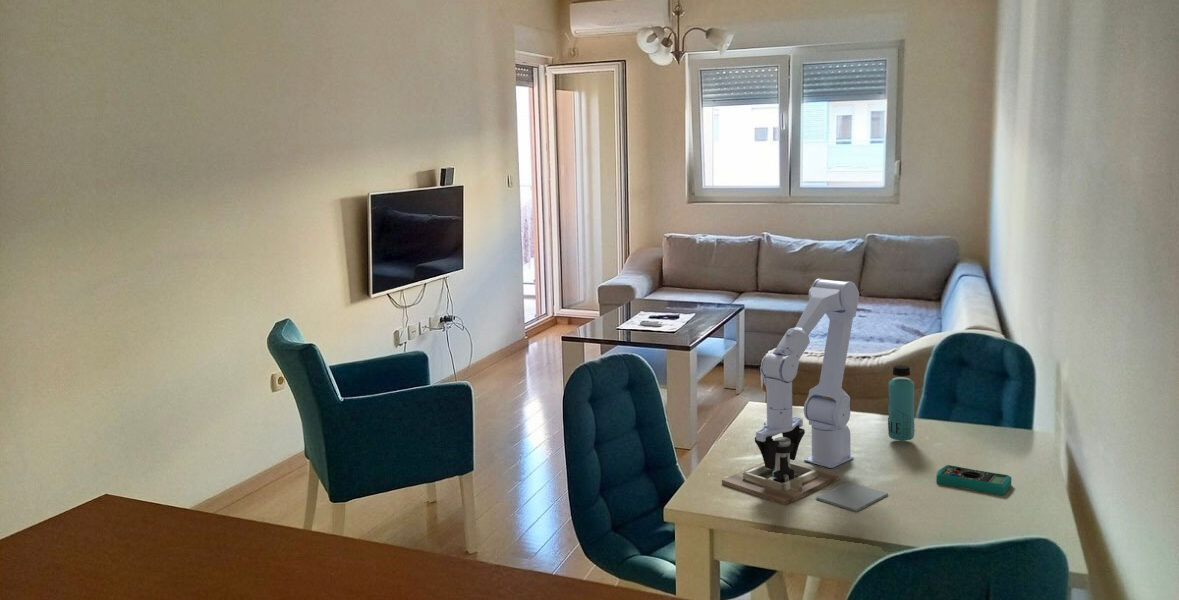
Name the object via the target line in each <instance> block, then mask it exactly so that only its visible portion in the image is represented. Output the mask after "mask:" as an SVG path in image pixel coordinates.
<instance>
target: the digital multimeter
mask: <svg viewBox="0 0 1179 600" xmlns="http://www.w3.org/2000/svg"><path fill="white" fill-rule="evenodd" d="M935 477H936V478H935V479H936V482H935V483H936V484H938V485H944V486H948V487H949V486H951V487H956V488H962V489H965V490H966V489H967V490H972V491H977V492H982V493H987V494H992V495H996V496H997V495H998V496H1003V495H1005V494H1006V493H1007V492H1008V491H1009V490H1010V488H1011V487H1012V476H1010V474H1003V473H999V472H998V473H997V472H990V471H983V470H978V469H972V468H966V467H961V466H956V465H950V464H947V465H945V466H943V467H941V468H939V469H938V470H937V472H936V476H935Z"/></svg>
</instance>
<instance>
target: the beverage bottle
mask: <svg viewBox="0 0 1179 600" xmlns="http://www.w3.org/2000/svg"><path fill="white" fill-rule="evenodd" d="M910 369H911V368H910V366H909V365H907V364H896V365H893V367H892V375H893V376H896V377H893V378H892V379H891V380H889V381H888V395H887V398H888V399H887V400H888V402H887V403H888V404H887V406H888V415H887V416H888V417H887V429H888V437H889V438H890V439H892V440H894V441H904V442H905V441H911V440H913V439H914V438H915V435H916V433H915V431H916V429H915V428H916V426H915V425H916V422H915V421H916V420H915V418H916V415H915V381H913V380H912V379H910V377H909V376H910V375H911V370H910ZM908 377H909V378H908Z"/></svg>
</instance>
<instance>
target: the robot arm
mask: <svg viewBox="0 0 1179 600" xmlns="http://www.w3.org/2000/svg"><path fill="white" fill-rule="evenodd" d="M859 298H860V292H859V290H858V287H857V285H856V284H855V283H854V282H853V281H842V280H830V279H824V278H817V279H815V280H814V281H813V283H812V284H811V286H810V288H809V290H808V302H807V304H806V305H805V307H804V310H803V312H802V314H801V316H800V317H799V320H798V321H797V323H796V325H795V327H791V328H788V329H787V330H786V332H785V334H784V335H783V337H782V338H781V339H780V341H779V343H778V344H777V346H776V347H775V348H774V351H773V352H772V353H769V354H767V355H766V356H764V357H763V359H762V361H761V364H760V365H761V366H759V370H760V374H761V376H762V377H763V384H764V386H765V387H766V389H765V390H766V391H765V392H766V400H765V401H766V421H763V426H762V427H761V428H760V429H759V430H757V431H755V437H754V442H755V445H756V446H757V448H758V449H759V451H760V453H761V457H762V459H763V462H764V463H765V467H766V468H769V469H774V468H775V458H776V451H777V447H778V445H779V442H778V441H774V438H773V437H774V436H778V435H781V434H782V437H786V438H789V439H790V441H791V442H793V443H794V447H793V451H792V452H790V461H794V460H796V458H797V453H798V449H799V445H800V444H801V441H802V439H803V437H804V435H805V433H806V432H805V431H806V430H805V429H804V428H802V427H804V424H803V421H804V420H803V417H799V416H793V381H794V379H795V378H796V376H797V374H798V372H799V371H798V369H799V365H800V359H801V358H802V357H803V356H802V355H804V353H805V351H806V349H807V348H808V346H809V345H810V342H811V339H810V337H809V335H810V334H811V333H812V331H814V328H815V327H816V326H817V325H818V323H820V321H821V319H822V318H823V317H824V316H825V315H826V316H827V318H828V320H829V321H828V322H829V324H828V327H827V328H828V330H827V336H826V341H825V348H824V352H823V358H822V364H821V371H820V375H819V376H820V377H819V381H818V384H817V385H816V386H814V387H812V388H810V389H809V391H808V395H807V397H806V398H807V399H806V400H805V402H804V404H803V414H804V417H805V419H806V420H807V421H808V425H810V426H811V455H810V456H808V457H806V458H804V462H807V463H811V464H815V465H818V466H821V467H825V468H828V469H833V468H835V467H837V466H840V465H842V464H844V463H847V462H848V461H850V460H853V459H854V455H851V431H850V428H849V426H848V425H847V424H848V422H849V420H850V418H851V409H850V406H851V404H850V402H851V397H850V396H849V395H848V393H847V392H846V391H845V390H844V389H843V382H844V381H843V380H844V373H845V368H846V362H847V356H848V352H849V345H850V339H851V333H852V326H853V320H854V318H855V317H856V316H857V311H858V310H857V309H858V304H859ZM830 398H832V399H830Z"/></svg>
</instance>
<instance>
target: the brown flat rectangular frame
mask: <svg viewBox="0 0 1179 600" xmlns="http://www.w3.org/2000/svg"><path fill="white" fill-rule="evenodd" d="M790 466H791V467H790V468H791V469H793V470H794V476H796V477H794V479H792V480H790V481H788V482H786V483H785V482H784V483H780V482H777V481H773V479H771V478H770V479H768V478H767V477H765V476H767V475H770V474H772V472H773V471H775V468H776V467H775V468H774V469H769V468H766V467H765V463H764V461H763V462H761V463H758V464H757V465H754V466H752V467H750V468H747V469H744V470H742V471H740V472H738V473H735V474H733V475H730V476H727V477H726V478H723V479H721V485H724V486H727V487H731V488H733V489H736V490H739V491H742V492H745V493H748V494H751V495H754V496H758V497H760V498H763V499H766V500H769V501H772V502H775V503H778V504H781V505H784V506H786V505H789V504H790V503H793V502H795V501H797V500H799V499H801V498H803V497H805V496H807V495H809V494H811V493H813V492H816V491H818V490H820V489H822V488H825V487H826V486H828V485H831V484H833V483H835V482H837V481H840V480H841V479H840V474H837V473H833V472H831V471H826V470H823V469H819V468H816V467H813V466H808V465H805V464H802V463H799V462H795V461H793V460H790Z"/></svg>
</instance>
